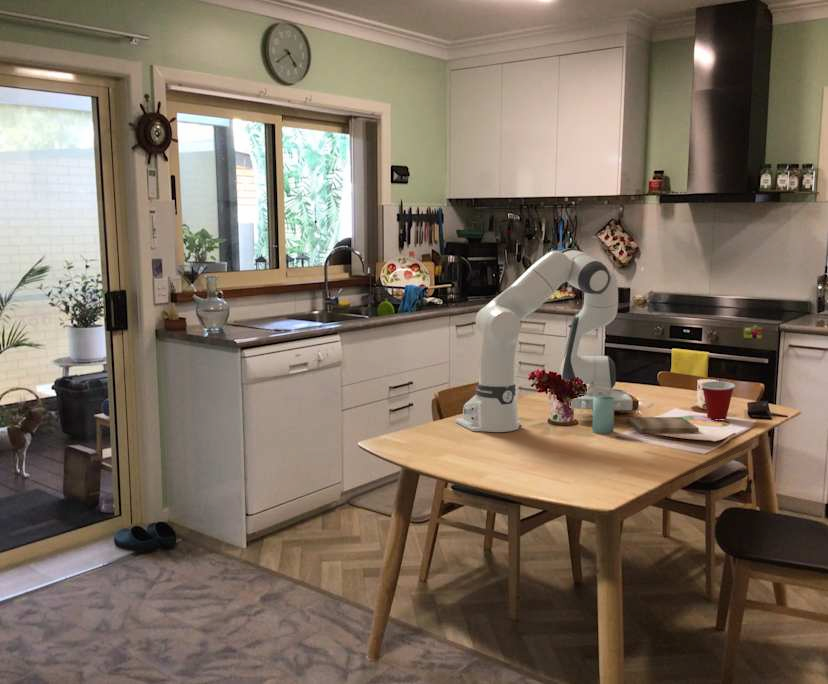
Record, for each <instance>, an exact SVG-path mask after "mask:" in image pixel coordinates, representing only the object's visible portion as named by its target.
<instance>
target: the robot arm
mask: <svg viewBox="0 0 828 684" xmlns="http://www.w3.org/2000/svg"><path fill="white" fill-rule="evenodd" d="M565 283H568V284H569V285H570V286H571V287H573V288H576V289H577V290H580V291H581V292H583V293H584V295H583V296H584V297H583V306H582V308H581V310H580V311H579V312H578V313H576V314H575V315H574V316H573V319H572V322H571V326H570V330H569V333H568V338H567V343H566V348H565V351H564V352H565V353H564V356H563V359H562V361H561V365H560V375H561V378H562V377H563V378H564V380H566V381H569V380H571V379H572V378H574V377H578V378H580V379H581V380H582V381H583V382H584V383H585V385H587V384H588V385H587V387H586V389H587V394H586V393H585V394H586V395H585V394H583V395H584V396H581V397H578V398H574V399H572V401H571V406H570V405H569V408H570V409H579V410H583V409H584V410H591V411H592V412H593V397H594V396H600V395H603V396H612V397H614V412H615V411H633V401H634V400H633V398H632V397H631V395H629V394H628V393H627V391H626V390H621V389H617V388H614V387H615V386H616V383H617V369H616V364H615V362H614V360H613V359H612V358H611V357H610V356H609V355H579V354H578V352H579V348H580V342H581V339H582V337H584V336H585V335H586V334H588V333H590V332H593V331H595V330H599V329H602V328H604V327H606V326H608V325H609V324H610V323H612V322H613V321H614V320H615V318H616V317H617V313H618V307H619V286H618V280H617V275H616V273H615V272H614V271H613V270H612V269H609V268H608V267H607V266H606V265H605V264H604V263H603V262H601V261H598V260H597V259H596V258H595V257H593V256H592V255H590V254H588V253H585V252H582V251H580V250H579V249H576V248H569V247H567V248H564V249H562V250H551V251H549V252H547V253H545V254H544V255H543V256H542V257H540V258H539V259H538V260H536V261H535V262H534V263H533V264H532V265H530V267H528V268H527V270H525V271H524V272H523V273H522V274H521V275H520V276H519V277H518V278H517V279H516V280H515V281H514V282H513V283H512V284H511V285H510V286H508V287H507V288H506V289H505V290H504V291H502V292H501V293H500V294H498V295H497V296H496V297H494V298H493V299H492V300H490V301H489V302H488V303H487V304H486V305H485V306H483V307H482V308H481V309H480V310H479V311H478V312H477V314H476V315H475V326H476V330H477V331H478V332H479V334H480V335H481V336H482V337H483V340H482V341H483V342H482V346H481V353H480V357H479V371H478V375H479V377H478V378H479V379H478V382H479V383H477V384H474V389H476V390H475V394H474V396H472V397H471V398H470V399H469V400H468V401H467V402H466V403H464V405H463V408H462V416H461V417H458V418H456V419H455V423H457V424H458V425H461V426H463V427H464V428H466V429H468V430H469V431H473V432H488V433H490V432H491V433H506V432H513V431H516V430H519V427H520V426H521V421H520V420H519V413H518V411H519V410H518V403H517V399H516V398H515V396H516V391H517V389H516V384H515V359H516V354H517V353H516V352H517V347H518V342H519V341H518V340H519V334H520V333H521V328H522V326H521V325H522V324H521V321H522V320H523V319H524V318H526V317H527V316H529V315H530V314H532V313H534V312H536V311H537V310H538V309H539V308H540V307H541V306H542V305H543V304H544V303H545V302H546V301H547V300H548V299H549V298H551V296H552V295H553V294H554V293H555V292H556V291H557V290H558V289H559V288H560V287H561V286H562V284H565ZM564 380H563V381H564Z"/></svg>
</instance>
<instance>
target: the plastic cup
mask: <svg viewBox="0 0 828 684" xmlns="http://www.w3.org/2000/svg"><path fill="white" fill-rule="evenodd" d="M700 386H701V388H702V390H703V395H704V405H705V409H706V416H707V419H708V418H711V419H718V420H719V419H726V420H727V416H728V411H729V408H730V403H731V400H732V395H733V392H734V390H735V387H736V385H735V383H733V382H728V381H720V380H715V381H705V382H702V383H701V384H700ZM718 420H717V421H718Z"/></svg>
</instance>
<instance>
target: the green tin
mask: <svg viewBox="0 0 828 684" xmlns="http://www.w3.org/2000/svg"><path fill="white" fill-rule="evenodd" d="M614 422H615V411H614V397H612V396H603V395H600V396H594V397H593V411H592V433H593V434H597V435H613V434H614V428H615V426H614V425H615V424H614Z"/></svg>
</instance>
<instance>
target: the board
mask: <svg viewBox="0 0 828 684" xmlns="http://www.w3.org/2000/svg"><path fill="white" fill-rule="evenodd" d="M626 422H627V423H628V424H629V425H630V426H632V427H633V428H634V429H635V430H636V431H637V432H639V433H640V434H688V433H687V432H699V429H700V428H699V427H697V426H696V425H695V424H694V423H692V422H690V421H688V420H687V419H685V418H683V417H682V416H679V417H678V416H665V417H664V416H658V417H657V416H652V417H651V416H649V417H648V416H647V417H646V416H644V417H643V416H641V417H640V416H638V417H637V416H632V417H630V416H628V417H627V416H626Z"/></svg>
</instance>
